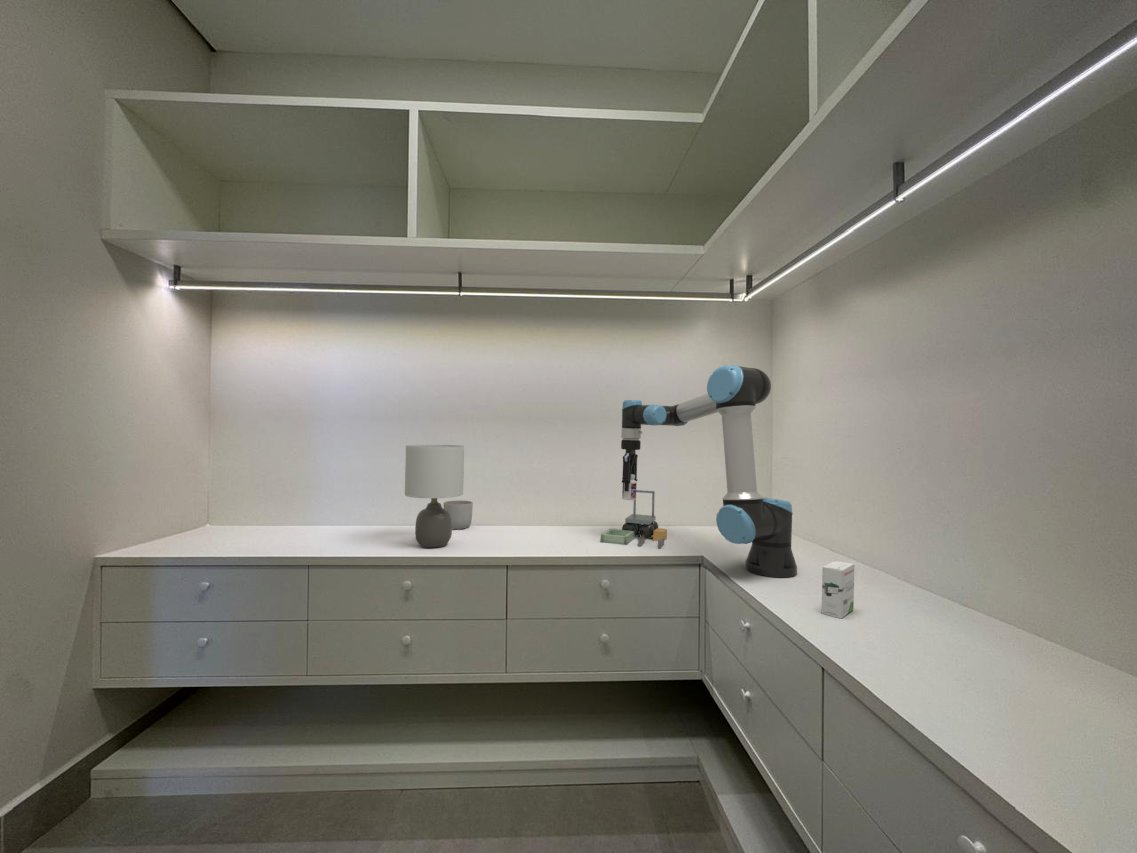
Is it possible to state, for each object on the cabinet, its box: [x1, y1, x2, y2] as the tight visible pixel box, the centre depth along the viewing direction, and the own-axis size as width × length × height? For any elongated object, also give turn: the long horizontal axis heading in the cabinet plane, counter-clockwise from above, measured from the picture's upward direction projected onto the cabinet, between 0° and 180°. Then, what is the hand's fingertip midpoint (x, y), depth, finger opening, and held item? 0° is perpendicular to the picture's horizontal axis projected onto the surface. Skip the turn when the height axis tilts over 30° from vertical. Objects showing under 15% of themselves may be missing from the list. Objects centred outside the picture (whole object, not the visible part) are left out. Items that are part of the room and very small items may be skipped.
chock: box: [652, 527, 668, 542], centre depth 201 cm, size 6×4×4 cm, turn 155°
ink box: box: [821, 560, 855, 619], centre depth 123 cm, size 9×5×12 cm, turn 133°
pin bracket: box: [637, 535, 665, 550], centre depth 190 cm, size 7×8×3 cm
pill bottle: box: [621, 474, 638, 501], centre depth 196 cm, size 5×5×10 cm
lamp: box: [404, 444, 465, 549], centre depth 183 cm, size 21×21×37 cm
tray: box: [600, 528, 636, 546], centre depth 198 cm, size 12×10×3 cm
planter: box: [443, 499, 474, 530], centre depth 216 cm, size 12×12×11 cm
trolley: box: [621, 489, 660, 540], centre depth 208 cm, size 12×13×18 cm
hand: (629, 498), depth 196 cm, fingers closed on pill bottle, 5 cm apart
